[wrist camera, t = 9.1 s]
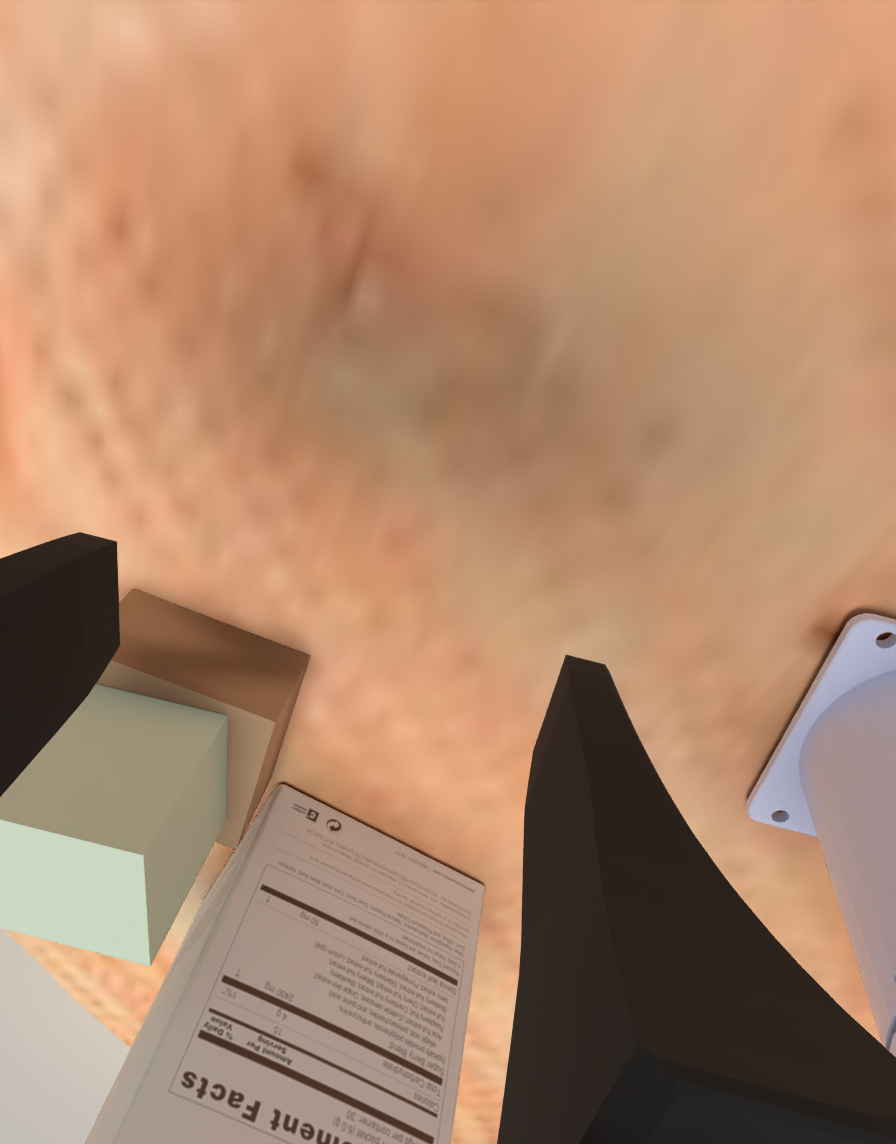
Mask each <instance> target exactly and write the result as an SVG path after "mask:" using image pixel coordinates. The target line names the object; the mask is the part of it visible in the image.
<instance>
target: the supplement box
mask: <svg viewBox="0 0 896 1144" xmlns="http://www.w3.org/2000/svg"><path fill="white" fill-rule="evenodd" d="M484 890H485V889H484V886H483V885H482V884H480V883H478V882H476V881H474V880H472V879H470V878H468V877H466V876H464V875H462V874H460V873H458V872H456V871H454V870H452V869H450V868H448V867H446V866H444V865H443V864H441V863H439V862H437V861H435V860H433V859H431V858H429V857H427V856H425V855H423V854H421V853H419V852H417V851H415V850H413V849H411V848H409V847H407V846H405V845H403V844H401V843H400V842H398V841H396V840H394V839H392V838H390V837H388V836H386V835H384V834H382V833H380V832H378V831H376V830H374V829H372V828H370V827H368V826H366V825H364V824H362V823H360V822H358V821H356V820H354V819H352V818H350V817H348V816H346V815H344V814H342V813H340V812H338V811H336V810H334V809H332V808H330V807H328V806H326V805H324V804H322V803H320V802H318V801H316V800H314V799H312V798H310V797H308V796H306V795H304V794H302V793H300V792H298V791H296V790H294V789H292V788H291V787H289V786H287V785H284V784H280V785H278V786H277V787H276V788H275V790H274V791H273V793H272V794H271V796H270V797H269V799H268V800H267V802H266V804H265V805H264V807H263V808H262V810H261V811H260V813H259V814H258V816H257V817H256V819H255V821H254V822H253V824H252V825H251V827H250V828H249V830H248V831H247V833H246V834H245V836H244V837H243V839H242V841H241V842H240V844H239V845H238V847H237V849H236V850H235V852H234V853H233V855H232V856H231V858H230V859H229V861H228V862H227V864H226V866H225V867H224V869H223V870H222V872H221V873H220V875H219V877H218V878H217V880H216V881H215V883H214V884H213V886H212V888H211V889H210V891H209V892H208V894H207V895H206V897H205V899H204V900H203V902H202V904H201V906H200V908H199V910H198V912H197V914H196V916H195V918H194V920H193V922H192V924H191V926H190V928H189V930H188V932H187V934H186V937H185V939H184V941H183V943H182V945H181V947H180V949H179V951H178V953H177V955H176V957H175V959H174V961H173V963H172V965H171V967H170V970H169V972H168V974H167V976H166V978H165V980H164V982H163V984H162V986H161V988H160V990H159V992H158V994H157V996H156V998H155V1000H154V1002H153V1004H152V1006H151V1008H150V1010H149V1012H148V1014H147V1017H146V1019H145V1021H144V1023H143V1025H142V1027H141V1029H140V1031H139V1033H138V1035H137V1037H136V1039H135V1041H134V1043H133V1045H132V1047H131V1049H130V1051H129V1053H128V1056H127V1058H126V1060H125V1062H124V1064H123V1066H122V1068H121V1070H120V1072H119V1074H118V1076H117V1078H116V1080H115V1082H114V1085H113V1086H112V1088H111V1091H110V1093H109V1095H108V1097H107V1099H106V1101H105V1103H104V1105H103V1107H102V1109H101V1111H100V1113H99V1115H98V1117H97V1119H96V1121H95V1124H94V1125H93V1128H92V1130H91V1132H90V1134H89V1136H88V1138H87V1140H86V1142H85V1144H451V1136H452V1129H453V1123H454V1116H455V1109H456V1102H457V1094H458V1087H459V1079H460V1072H461V1064H462V1057H463V1049H464V1042H465V1035H466V1028H467V1019H468V1012H469V1004H470V997H471V989H472V982H473V974H474V967H475V959H476V951H477V943H478V935H479V926H480V919H481V913H482V905H483V897H484Z"/></svg>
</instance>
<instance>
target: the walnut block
mask: <svg viewBox="0 0 896 1144" xmlns="http://www.w3.org/2000/svg"><path fill="white" fill-rule="evenodd" d="M119 623H120V646H119V648H118V650H117V651H116V653H115V655H114V656H113V658H112V659H111V661H110V663H109V664H108V666H107V667H106V669H105V671H104V672H103V674H102V675H101V677H100V678H99V680H98V681H97V683H96V684H97V685H102V686H106V687H110V688H114V689H118V690H122V691H127V692H131V693H135V694H139V695H143V696H148V697H152V698H156V699H160V700H164V701H168V702H173V703H177V704H181V705H185V706H189V707H193V708H198V709H202V710H206V711H210V712H214V713H219V714H223V715H227V716H228V740H227V786H226V821H225V823H224V825H223V827H222V829H221V831H220V833H219V835H218V837H217V839H216V841H215V842H217V843H220V844H223V845H226V846H228V847H231V848H234V849H237V847H238V845H239V843H240V841H241V839H242V836H243V834H244V832H245V830H246V828H247V826H248V824H249V822H250V820H251V818H252V816H253V814H254V812H255V810H256V808H257V806H258V804H259V802H260V800H261V798H262V795H263V793H264V791H265V789H266V787H267V785H268V783H269V781H270V779H271V777H272V773H273V770H274V767H275V764H276V761H277V758H278V755H279V752H280V749H281V746H282V742H283V739H284V736H285V733H286V730H287V727H288V724H289V721H290V718H291V714H292V711H293V708H294V705H295V702H296V699H297V696H298V693H299V690H300V687H301V683H302V680H303V677H304V674H305V671H306V668H307V665H308V662H309V659H310V655H307V654H305V653H302V652H300V651H297V650H294V649H292V648H289V647H286V646H284V645H281V644H278V643H276V642H273V641H271V640H268V639H265V638H263V637H260V636H257V635H255V634H252V633H249V632H247V631H244V630H242V629H239V628H236V627H234V626H231V625H228V624H226V623H223V622H220V621H218V620H215V619H213V618H210V617H207V616H205V615H202V614H199V613H197V612H194V611H192V610H189V609H186V608H184V607H181V606H178V605H176V604H173V603H170V602H168V601H165V600H163V599H160V598H157V597H155V596H152V595H149V594H147V593H144V592H141V591H139V590H136V589H133V590H132V591H131V592H130V593H129V594H128V595H127V596H126V597H125V598H124V599H123V600H122V601H121V602H120V603H119Z"/></svg>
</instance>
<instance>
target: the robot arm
mask: <svg viewBox="0 0 896 1144" xmlns="http://www.w3.org/2000/svg"><path fill="white" fill-rule="evenodd" d="M885 632H891V633H892V635H891V636H890V637H889V638H887V639H884V640H876V638H877V637H878V636H879V635H880V634H882V633H885ZM119 646H120V623H119V593H118V563H117V542H116V541H112V540H108V539H104V538H100V537H96V536H93V535H89V534H85V533H81V532H79V533H76V534H72V535H68V536H65V537H61V538H58V539H55V540H52V541H49V542H46V543H43V544H40V545H37V546H34V547H32V548H29V549H26V550H23V551H20V552H18V553H15V554H12V555H9V556H6V557H4V558H1V559H0V797H1V796H2V795H3V794H4V792H5V791H6V790H7V789H8V788H9V787H10V786H11V784H12V783H13V782H14V781H15V780H16V779H17V778H18V776H19V775H20V774H21V773H22V772H23V771H24V770H25V768H26V767H27V766H28V765H29V764H30V763H31V761H32V760H33V759H34V758H35V757H36V756H37V755H38V753H39V752H40V751H41V750H42V749H43V748H44V747H45V745H46V744H47V743H48V742H49V741H50V740H51V739H52V737H53V736H54V735H55V734H56V733H57V732H58V730H59V729H60V728H61V727H62V726H63V725H64V723H65V722H66V721H67V720H68V719H69V718H70V716H71V715H72V714H73V713H74V712H75V711H76V709H77V708H78V707H79V706H80V705H81V703H82V702H83V701H84V700H85V699H86V697H87V696H88V695H89V693H90V692H91V690H92V689H93V687H94V686H95V684H96V683H97V681H98V680H99V678H100V677H101V675H102V674H103V672H104V671H105V669H106V667H107V666H108V664H109V663H110V661H111V659H112V658H113V656H114V655H115V653H116V651H117V650H118V648H119ZM746 807H747V811H748V814H749V816H750V817H751V818H752V819H753V820H755V821H757V822H760V823H764V824H768V825H772V826H776V827H780V828H784V829H788V830H792V831H795V832H799V833H803V834H807V835H811V836H815V837H818V840H819V843H820V847H821V850H822V853H823V856H824V859H825V863H826V866H827V869H828V872H829V875H830V879H831V882H832V885H833V888H834V891H835V894H836V898H837V901H838V904H839V907H840V910H841V914H842V917H843V920H844V923H845V926H846V930H847V933H848V936H849V939H850V942H851V946H852V949H853V952H854V955H855V958H856V961H857V965H858V968H859V971H860V974H861V977H862V981H863V984H864V987H865V990H866V993H867V997H868V1000H869V1003H870V1006H871V1009H872V1013H873V1016H874V1019H875V1022H876V1025H877V1029H878V1032H879V1035H880V1038H881V1041H882V1044H883V1045H882V1044H881V1043H879V1042H878V1041H877V1040H876V1039H875V1038H874V1037H873V1036H872V1035H871V1034H870V1033H869V1032H867V1031H866V1030H865V1029H864V1028H863V1027H862V1026H861V1025H860V1024H859V1023H858V1022H856V1021H855V1020H854V1019H853V1018H852V1017H851V1016H850V1015H849V1014H848V1013H847V1012H846V1011H845V1010H844V1009H843V1008H842V1007H841V1006H839V1005H838V1004H837V1003H836V1002H835V1001H834V1000H833V998H832V997H831V996H830V995H829V994H828V993H827V992H826V991H825V990H824V989H823V988H822V987H821V986H820V985H819V984H818V983H817V982H816V981H815V980H814V979H813V978H812V977H811V976H810V975H809V974H808V973H807V972H806V971H805V970H804V969H803V968H802V967H801V966H800V965H799V964H798V963H797V961H796V960H795V959H794V958H793V957H792V956H791V955H790V954H789V953H788V952H787V951H786V949H785V948H784V947H783V946H782V945H781V944H780V943H779V942H778V941H777V940H776V939H775V937H774V936H773V935H772V934H771V933H770V932H769V930H768V929H767V928H766V927H765V926H764V925H763V923H762V922H761V921H760V920H759V919H758V917H757V916H756V915H755V914H754V913H753V911H752V910H751V909H750V908H749V907H748V906H747V904H746V903H745V902H744V901H743V900H742V898H741V897H740V896H739V895H738V893H737V892H736V891H735V890H734V888H733V887H732V886H731V885H730V883H729V882H728V881H727V879H726V878H725V877H724V876H723V874H722V873H721V872H720V870H719V869H718V867H717V866H716V865H715V863H714V862H713V860H712V859H711V858H710V856H709V855H708V853H707V852H706V851H705V849H704V848H703V847H702V845H701V844H700V842H699V841H698V840H697V838H696V837H695V835H694V834H693V832H692V831H691V829H690V828H689V826H688V824H687V823H686V821H685V820H684V818H683V817H682V815H681V813H680V812H679V810H678V808H677V807H676V805H675V803H674V802H673V800H672V798H671V797H670V795H669V793H668V791H667V790H666V788H665V786H664V784H663V783H662V781H661V779H660V777H659V775H658V774H657V772H656V770H655V768H654V766H653V764H652V762H651V760H650V758H649V756H648V754H647V753H646V751H645V749H644V747H643V745H642V743H641V741H640V739H639V737H638V735H637V733H636V731H635V729H634V726H633V724H632V722H631V720H630V718H629V716H628V714H627V711H626V709H625V707H624V705H623V702H622V700H621V698H620V696H619V693H618V691H617V689H616V686H615V684H614V682H613V679H612V677H611V674H610V672H609V670H608V669H607V667H606V665H605V664H601V663H597V662H593V661H589V660H585V659H581V658H577V657H573V656H569V655H566V656H565V659H564V662H563V665H562V668H561V671H560V674H559V677H558V680H557V683H556V686H555V689H554V692H553V695H552V698H551V700H550V703H549V706H548V709H547V712H546V715H545V718H544V721H543V724H542V727H541V730H540V733H539V736H538V739H537V742H536V745H535V747H534V750H533V756H532V762H531V769H530V776H529V782H528V789H527V796H526V803H525V815H524V848H523V890H522V933H521V955H520V970H519V980H518V989H517V997H516V1005H515V1013H514V1021H513V1030H512V1038H511V1046H510V1053H509V1061H508V1068H507V1076H506V1083H505V1091H504V1099H503V1106H502V1114H501V1121H500V1128H499V1135H498V1142H497V1144H896V619H892V618H888V617H884V616H880V615H876V614H869V613H864V614H859V615H856V616H855V617H853V618H851V619H850V620H849V621H848V622H847V624H846V625H845V627H844V629H843V630H842V632H841V634H840V636H839V638H838V639H837V641H836V643H835V645H834V646H833V648H832V650H831V652H830V654H829V655H828V657H827V659H826V661H825V662H824V664H823V666H822V668H821V670H820V671H819V673H818V675H817V677H816V678H815V680H814V682H813V684H812V686H811V687H810V689H809V691H808V693H807V695H806V696H805V698H804V700H803V702H802V703H801V705H800V707H799V709H798V711H797V712H796V714H795V716H794V718H793V719H792V721H791V723H790V725H789V727H788V728H787V730H786V732H785V734H784V735H783V737H782V739H781V741H780V743H779V744H778V746H777V748H776V750H775V752H774V753H773V755H772V757H771V759H770V760H769V762H768V764H767V766H766V768H765V769H764V771H763V773H762V775H761V776H760V778H759V780H758V782H757V784H756V785H755V787H754V789H753V791H752V792H751V794H750V796H749V798H748V800H747V803H746ZM779 810H782V811H783V812H781V813H774V812H775V811H779Z"/></svg>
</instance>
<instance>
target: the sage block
mask: <svg viewBox="0 0 896 1144" xmlns="http://www.w3.org/2000/svg"><path fill="white" fill-rule="evenodd" d="M227 740H228V716H227V715H223V714H219V713H214V712H210V711H206V710H202V709H198V708H193V707H189V706H185V705H181V704H177V703H173V702H168V701H164V700H160V699H156V698H152V697H148V696H143V695H139V694H135V693H131V692H127V691H122V690H118V689H114V688H110V687H106V686H102V685H97V684H95V686H94V687H93V689H92V690H91V692H90V693H89V695H88V696H87V697H86V699H85V700H84V701H83V702H82V703H81V705H80V706H79V707H78V708H77V709H76V711H75V712H74V713H73V714H72V715H71V716H70V718H69V719H68V720H67V721H66V722H65V723H64V725H63V726H62V727H61V728H60V729H59V730H58V732H57V733H56V734H55V735H54V736H53V737H52V739H51V740H50V741H49V742H48V743H47V744H46V745H45V747H44V748H43V749H42V750H41V751H40V752H39V753H38V755H37V756H36V757H35V758H34V759H33V760H32V761H31V763H30V764H29V765H28V766H27V767H26V768H25V770H24V771H23V772H22V773H21V774H20V775H19V776H18V778H17V779H16V780H15V781H14V782H13V783H12V784H11V786H10V787H9V788H8V789H7V790H6V791H5V792H4V794H3V795H2V796H1V797H0V928H3V929H7V930H10V931H14V932H18V933H22V934H26V935H30V936H34V937H38V938H41V939H45V940H49V941H53V942H57V943H61V944H65V945H69V946H72V947H76V948H80V949H84V950H88V951H92V952H96V953H100V954H103V955H107V956H111V957H115V958H119V959H123V960H127V961H131V962H134V963H138V964H142V965H146V966H151V964H152V962H153V960H154V958H155V956H156V954H157V952H158V951H159V949H160V947H161V945H162V943H163V941H164V939H165V937H166V935H167V933H168V931H169V929H170V927H171V925H172V924H173V922H174V920H175V918H176V916H177V914H178V912H179V910H180V908H181V906H182V904H183V902H184V900H185V899H186V897H187V895H188V893H189V891H190V889H191V887H192V885H193V883H194V881H195V879H196V877H197V875H198V873H199V872H200V870H201V868H202V866H203V864H204V862H205V860H206V858H207V856H208V854H209V852H210V850H211V848H212V846H213V845H214V843H215V841H216V839H217V837H218V835H219V833H220V831H221V829H222V827H223V825H224V823H225V821H226V786H227Z"/></svg>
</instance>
